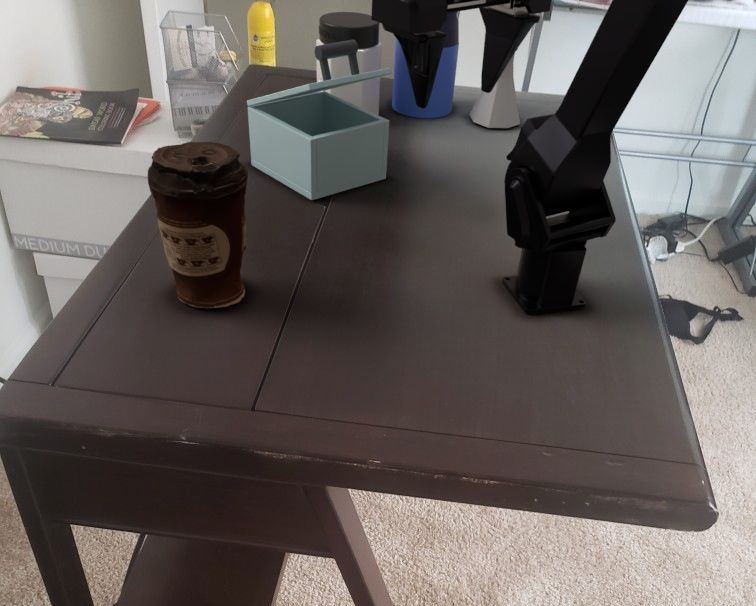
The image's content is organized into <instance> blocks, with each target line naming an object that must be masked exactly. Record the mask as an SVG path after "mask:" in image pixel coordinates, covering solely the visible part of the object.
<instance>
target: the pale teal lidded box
mask: <svg viewBox="0 0 756 606" xmlns="http://www.w3.org/2000/svg"><path fill="white" fill-rule="evenodd" d="M247 119H248V133H249V134H248V136H249V147H250V162H251V164H250V165H251V166H252V167H253V168H256V169H257V170H259V171H260V172H262V173H264V174H265V175H267V176H269V177H271V178H272V179H274V180H276V181H277V182H280V183H281V184H283V185H285V186H286V187H288V188H290V189H291V190H293V191H295V192H296V193H297V194H300V195H301V196H303V197H305V198H306V199H308V200H310V201H314V200H318V199H321V198H324V197H325V198H326V197H328V196H331V195H336V194H339V193H341V192H345V191H349V190H353V189H355V188H359V187H362V186H365V185H366V186H367V185H369V184H372V183H376V182H379V181H383V180H386V179H387V169H388V153H389V152H388V151H389V134H390V133H389V132H390V120H389V119H387V118H385V117H382V116H380V115H376V114H374V113H372V112H369V111H367V110H365V109H363V108H361V107H358V106H356V105H354V104H352V103H350V102H348V101H345V100H343V99H341V98H339V97H337V96H334V95H332V94H330V93H328V92H326V91H322V92H315V93H310V94H305V95H300V96H295V97H290V98H286V99H281V100H276V101H271V102H266V103H261V104H257V105H252V106H247Z"/></svg>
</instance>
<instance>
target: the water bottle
mask: <svg viewBox="0 0 756 606" xmlns="http://www.w3.org/2000/svg"><path fill="white" fill-rule="evenodd" d="M460 14H461V11H457V12H451V13H447V19H446V21H445V22H444V24H443V25H442V27H441V28H440V30H438V31H440V32H443V33H446V39H445V43H444V47H443V51H442V55H441V58H440V62H439V66H438V70H437V73H436V77H435V81H434V85H433V89H432V93H431V96H430V99H429V101H428V104H427V107H426V108H424V109H423V108H420V107H418V106H417V105H416V101H415V97H414V93H413V89H412V84H411V80H410V76H409V71H408V67H407V63H406V60H405V56H404V53H403V50H402V48H401V45H400V43H399V42H398V40H397V39H396V38H395V49H394V50H395V51H394V65H393V82H392V98H391V107H392V109H393V111H395V112H396V113H399V114H401V115H404V116H407V117H411V118H418V119H419V118H420V119H437V118H443V117H446V116H448V115H449V114H451V113H452V110H453V102H454V100H453V99H454V92H455V83H456V77H457V76H456V75H457V67H458V55H459V49H460V36H459V35H460V31H459V30H460V29H459V25H460V24H459V22H460V20H459V19H460Z"/></svg>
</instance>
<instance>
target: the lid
mask: <svg viewBox="0 0 756 606" xmlns="http://www.w3.org/2000/svg"><path fill="white" fill-rule="evenodd" d="M357 51H358V45H357V42H356V41H355V40H348V41H342V42H336V43H330V44H324V45H318V46H316V45H315V47H314V56H315V59H316V61H317V60H319V62H320V67H321V72H322V77H323V81H321V82H317V81H316V82H311V83H307V84H303V85H300V86H296V87H293V88H289V89H284V90H281V91H277V92H273V93H270V94H267V95H262V96H259V97H255V98H251V99H248V100H246V104H247V107H250V106H254V105H259V104H264V103H269V102H273V101H278V100H283V99H288V98H293V97H298V96H302V95H307V94H312V93H317V92H320V91H324V90H328V89H332V88H336V87H340V86H344V85H348V84H352V83H356V82H360V81H364V80H368V79H372V78H376V77H380V78H381V77H384V76H387V75H392V74H393V72H392V67H387V68H386V67H385V68H382V69H381V70H376V71H371V72H366V73H361V74H360V73H359V67H358V62H357V56H356V53H357ZM343 56H348V59H349V64H350V70H351V76H346V77H341V78H336V79H331V75H330V70H329V64H328V59H332V58H337V57H343Z"/></svg>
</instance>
